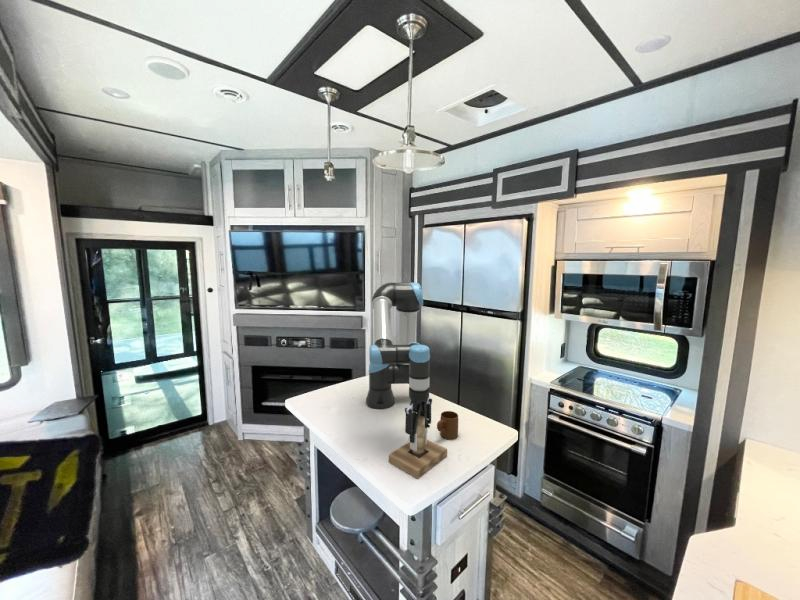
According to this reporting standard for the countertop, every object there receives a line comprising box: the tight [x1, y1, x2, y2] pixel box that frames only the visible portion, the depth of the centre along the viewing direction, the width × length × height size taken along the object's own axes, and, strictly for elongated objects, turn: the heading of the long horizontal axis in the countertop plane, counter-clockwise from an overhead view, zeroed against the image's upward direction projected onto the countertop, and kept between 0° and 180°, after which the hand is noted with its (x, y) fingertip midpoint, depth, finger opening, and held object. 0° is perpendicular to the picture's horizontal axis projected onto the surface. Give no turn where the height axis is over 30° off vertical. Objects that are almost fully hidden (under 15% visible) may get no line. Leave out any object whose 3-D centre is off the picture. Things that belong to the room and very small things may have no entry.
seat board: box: [388, 439, 448, 480], centre depth 124 cm, size 18×14×3 cm
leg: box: [412, 415, 425, 458], centre depth 124 cm, size 5×5×16 cm
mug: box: [436, 410, 459, 441], centre depth 139 cm, size 12×8×9 cm, turn 136°
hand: (418, 446), depth 124 cm, fingers open, 5 cm apart
